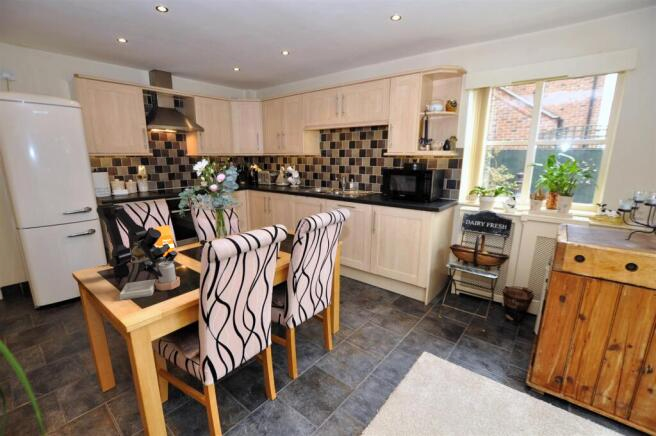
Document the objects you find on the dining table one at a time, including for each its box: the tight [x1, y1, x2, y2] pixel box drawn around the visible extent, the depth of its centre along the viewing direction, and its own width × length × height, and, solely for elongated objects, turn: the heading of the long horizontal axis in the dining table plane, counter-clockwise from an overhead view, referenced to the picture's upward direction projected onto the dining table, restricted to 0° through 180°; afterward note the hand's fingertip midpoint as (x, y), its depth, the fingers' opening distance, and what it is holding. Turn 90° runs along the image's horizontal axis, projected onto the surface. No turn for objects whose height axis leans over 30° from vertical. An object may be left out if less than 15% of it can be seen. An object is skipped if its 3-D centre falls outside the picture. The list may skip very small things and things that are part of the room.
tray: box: [119, 278, 157, 301], centre depth 145 cm, size 13×13×3 cm
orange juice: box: [153, 224, 175, 257], centre depth 193 cm, size 8×9×20 cm
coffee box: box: [128, 236, 149, 264], centre depth 186 cm, size 9×6×16 cm
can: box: [156, 261, 177, 284], centre depth 151 cm, size 8×8×12 cm
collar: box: [155, 275, 181, 291], centre depth 152 cm, size 10×10×3 cm
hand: (168, 273), depth 151 cm, fingers closed on can, 7 cm apart
